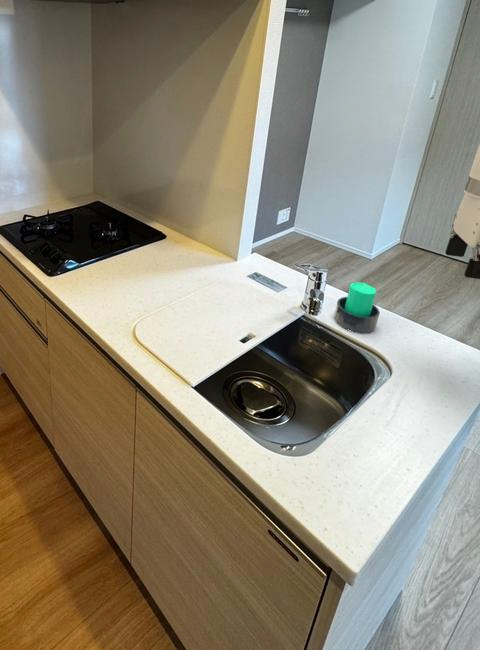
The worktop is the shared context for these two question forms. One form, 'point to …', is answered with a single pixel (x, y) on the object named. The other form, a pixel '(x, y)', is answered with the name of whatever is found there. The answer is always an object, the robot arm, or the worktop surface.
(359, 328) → the bowl
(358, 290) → the candle
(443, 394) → the worktop surface
